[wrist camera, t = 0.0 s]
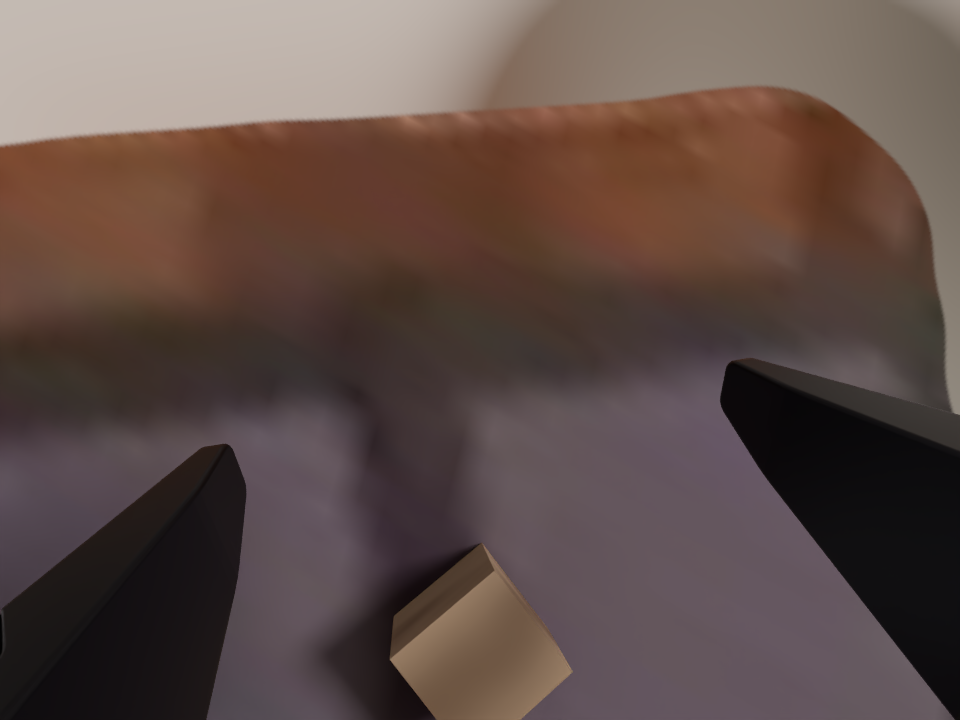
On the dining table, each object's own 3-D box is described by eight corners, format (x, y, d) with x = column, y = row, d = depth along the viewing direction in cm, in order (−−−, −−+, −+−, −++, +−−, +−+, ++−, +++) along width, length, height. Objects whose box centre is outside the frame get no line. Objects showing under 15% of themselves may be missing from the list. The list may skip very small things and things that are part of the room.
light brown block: (546, 626, 24) (572, 671, 20) (461, 702, 23) (471, 764, 19) (481, 541, 24) (494, 570, 20) (393, 614, 23) (389, 659, 19)
